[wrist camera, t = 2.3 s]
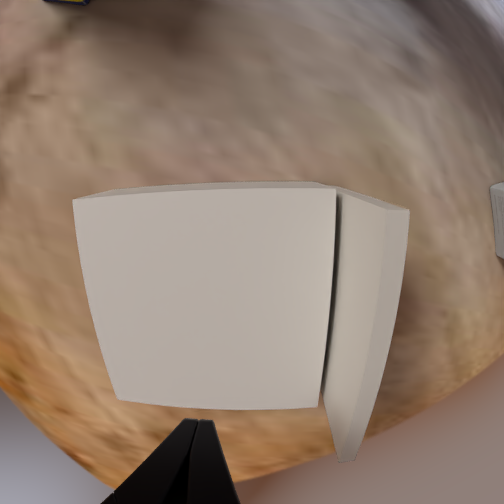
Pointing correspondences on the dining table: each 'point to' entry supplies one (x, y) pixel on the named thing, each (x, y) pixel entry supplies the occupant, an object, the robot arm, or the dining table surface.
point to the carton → (211, 291)
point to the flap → (361, 311)
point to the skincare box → (498, 216)
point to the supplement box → (72, 1)
